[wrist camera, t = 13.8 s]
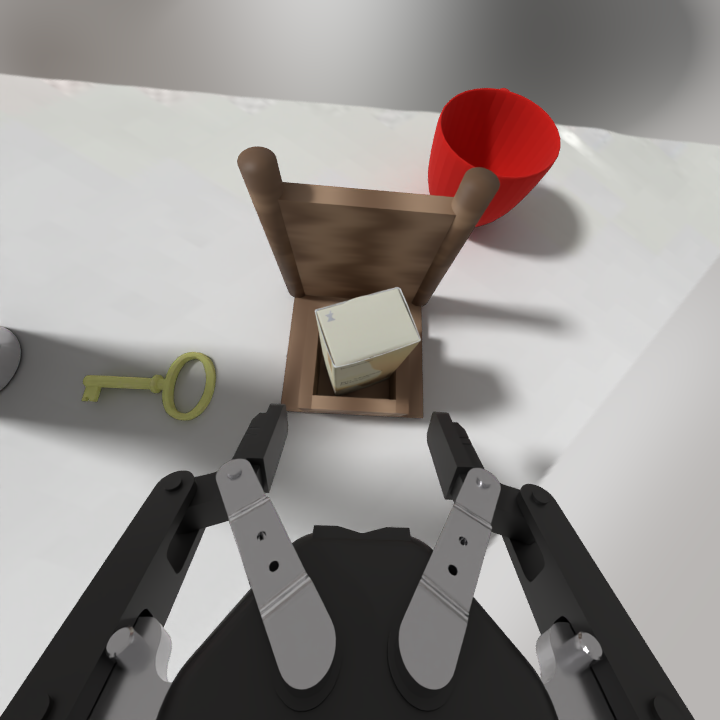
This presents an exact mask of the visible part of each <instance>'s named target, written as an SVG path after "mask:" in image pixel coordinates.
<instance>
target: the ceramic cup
mask: <svg viewBox="0 0 720 720" xmlns="http://www.w3.org/2000/svg"><path fill="white" fill-rule="evenodd" d="M559 151H560V136H559V132H558V129H557V127H556V125H555V124H554V122H553V120H552V119H551V118H550V117H549V115H548V114H547V113H546V112H545V111H544V110H543V109H542V108H540V107H539V106H538V105H536V104H535V103H533V102H532V101H531V100H529V99H527V98H525V97H523V96H521V95H518V94H515V93H513V92H510V91H509V90H508V89H506V88H501V89H492V88H482V89H481V88H480V89H473V90H468V91H465V92H463V93H460V94H458V95H456V96H455V97H454V98H452V99H451V100H450V101H449V102H448V103H447V104H446V105H445V106H444V108H443V110H442V112H441V114H440V117H439V120H438V123H437V127H436V131H435V135H434V139H433V144H432V149H431V155H430V161H429V168H428V184H429V192H430V195H435V196H446V197H454V196H455V194H456V192H457V190H458V188H459V185H460V183H461V181H462V179H463V177H464V175H465V173H466V172H467V171H468V170H469V169H471V168H475V167H482V168H486V169H488V170H490V171H492V172H493V173H494V174H495V175H496V176H497V177H498V179H499V181H500V187H499V190H498V191H497V193H496V194H495V196H494V198H493V199H492V201H491V202H490V204H489V206H488V207H487V209H486V210H485V212H484V213H483V215H482V217H481V218H480V220H479V221H478V223H477V225H476V226H475V227H478V226H482V225H485V224H488V223H490V222H493V221H495V220H496V219H498V218H500V217H501V216H503V215H505V214H506V213H508V212H509V211H510V210H511V209H513V208H514V207H515V206H516V205H517V204H518V203H519V202H520V201H521V200H522V199H523V198H524V197H525V196H526V195H527V194H528V193H529V192H530V191H531V190H532V189H533V188H534V187H535V186H536V185H537V184H538V182H539V181H540V180H541V179H542V178H543V177H544V175H545V174H546V173H547V172H548V171H549V169H550V168H551V167H552V165H553V164H554V162H555V160H556V159H557V157H558V154H559Z"/></svg>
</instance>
